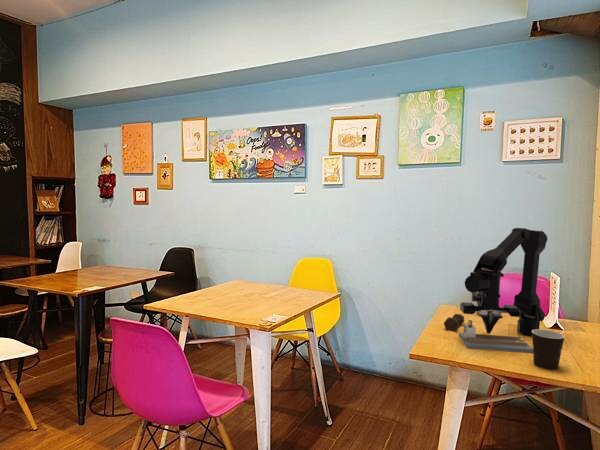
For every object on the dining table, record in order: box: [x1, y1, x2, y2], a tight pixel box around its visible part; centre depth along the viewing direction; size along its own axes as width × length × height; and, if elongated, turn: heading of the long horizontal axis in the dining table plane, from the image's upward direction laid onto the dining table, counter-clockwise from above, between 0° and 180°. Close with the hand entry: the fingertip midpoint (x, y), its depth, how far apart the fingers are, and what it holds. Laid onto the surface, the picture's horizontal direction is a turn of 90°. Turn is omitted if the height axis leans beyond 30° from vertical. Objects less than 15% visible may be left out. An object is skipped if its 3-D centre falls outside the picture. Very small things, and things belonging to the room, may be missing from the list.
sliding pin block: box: [463, 319, 477, 340], centre depth 145 cm, size 3×4×6 cm
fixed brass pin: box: [518, 336, 526, 342], centre depth 142 cm, size 2×2×2 cm
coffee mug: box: [531, 328, 565, 371], centre depth 126 cm, size 12×9×10 cm
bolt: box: [443, 313, 465, 332], centre depth 163 cm, size 6×5×15 cm
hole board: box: [458, 332, 533, 354], centre depth 144 cm, size 21×13×2 cm, turn 81°
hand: (488, 333), depth 144 cm, fingers closed
